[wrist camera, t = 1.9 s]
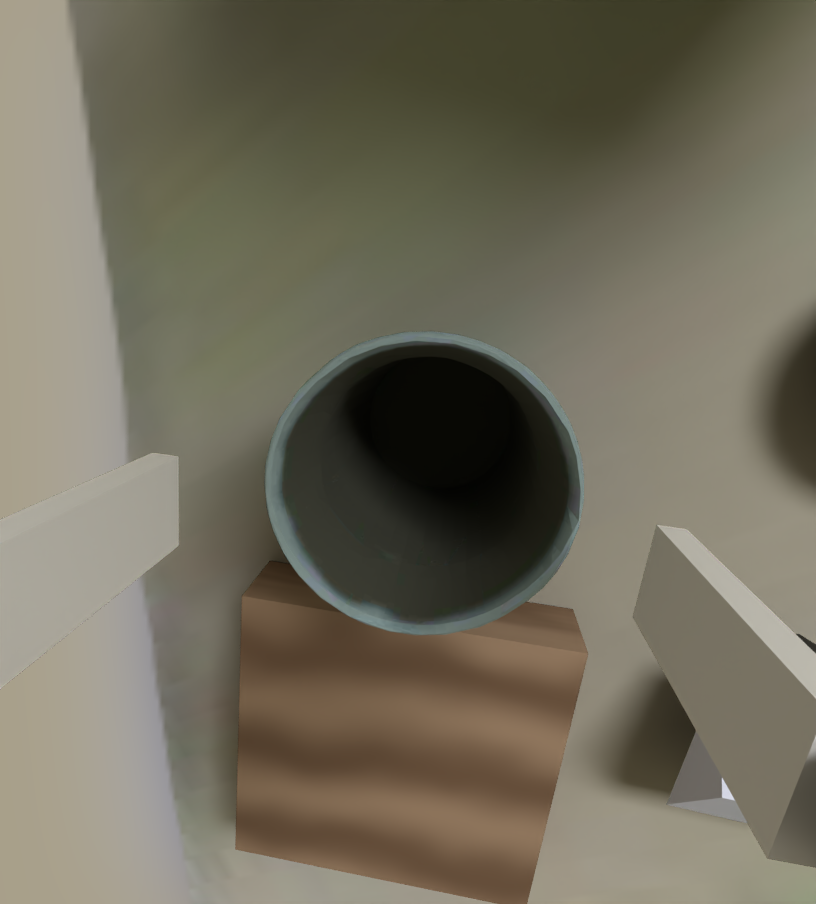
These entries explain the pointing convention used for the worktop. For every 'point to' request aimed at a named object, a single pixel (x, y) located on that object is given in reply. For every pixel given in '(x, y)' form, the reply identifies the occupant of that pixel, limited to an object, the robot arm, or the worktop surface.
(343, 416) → the grey cup
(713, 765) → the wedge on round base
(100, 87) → the worktop surface
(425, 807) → the walnut stand
